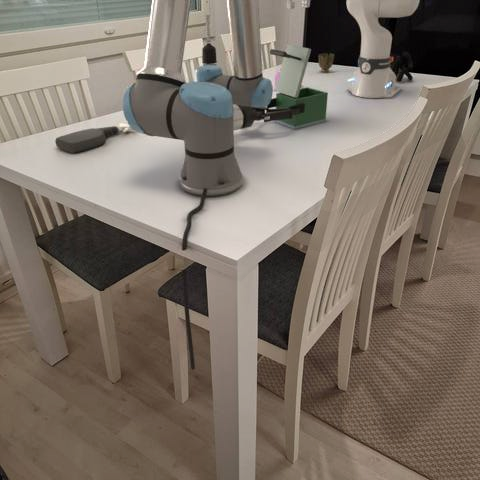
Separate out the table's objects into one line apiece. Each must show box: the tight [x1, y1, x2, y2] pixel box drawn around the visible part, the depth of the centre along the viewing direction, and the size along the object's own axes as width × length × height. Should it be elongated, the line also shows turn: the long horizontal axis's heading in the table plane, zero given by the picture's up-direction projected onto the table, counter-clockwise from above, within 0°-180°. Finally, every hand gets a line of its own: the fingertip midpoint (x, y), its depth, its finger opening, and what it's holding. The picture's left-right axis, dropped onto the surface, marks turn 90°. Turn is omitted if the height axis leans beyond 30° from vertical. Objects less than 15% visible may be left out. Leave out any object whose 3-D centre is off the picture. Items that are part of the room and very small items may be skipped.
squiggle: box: [390, 51, 414, 83], centre depth 198 cm, size 11×10×15 cm
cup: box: [318, 52, 335, 73], centre depth 215 cm, size 8×7×8 cm
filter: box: [201, 14, 218, 66], centre depth 171 cm, size 6×6×30 cm
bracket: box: [274, 71, 280, 90], centre depth 190 cm, size 13×6×7 cm, turn 143°
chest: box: [275, 86, 329, 130], centre depth 149 cm, size 14×10×9 cm
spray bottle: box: [54, 123, 134, 154], centre depth 138 cm, size 3×11×24 cm
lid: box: [269, 44, 312, 98], centre depth 138 cm, size 14×10×9 cm
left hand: (292, 104), depth 146 cm, fingers closed on chest, 10 cm apart
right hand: (298, 8), depth 132 cm, fingers open, 5 cm apart
